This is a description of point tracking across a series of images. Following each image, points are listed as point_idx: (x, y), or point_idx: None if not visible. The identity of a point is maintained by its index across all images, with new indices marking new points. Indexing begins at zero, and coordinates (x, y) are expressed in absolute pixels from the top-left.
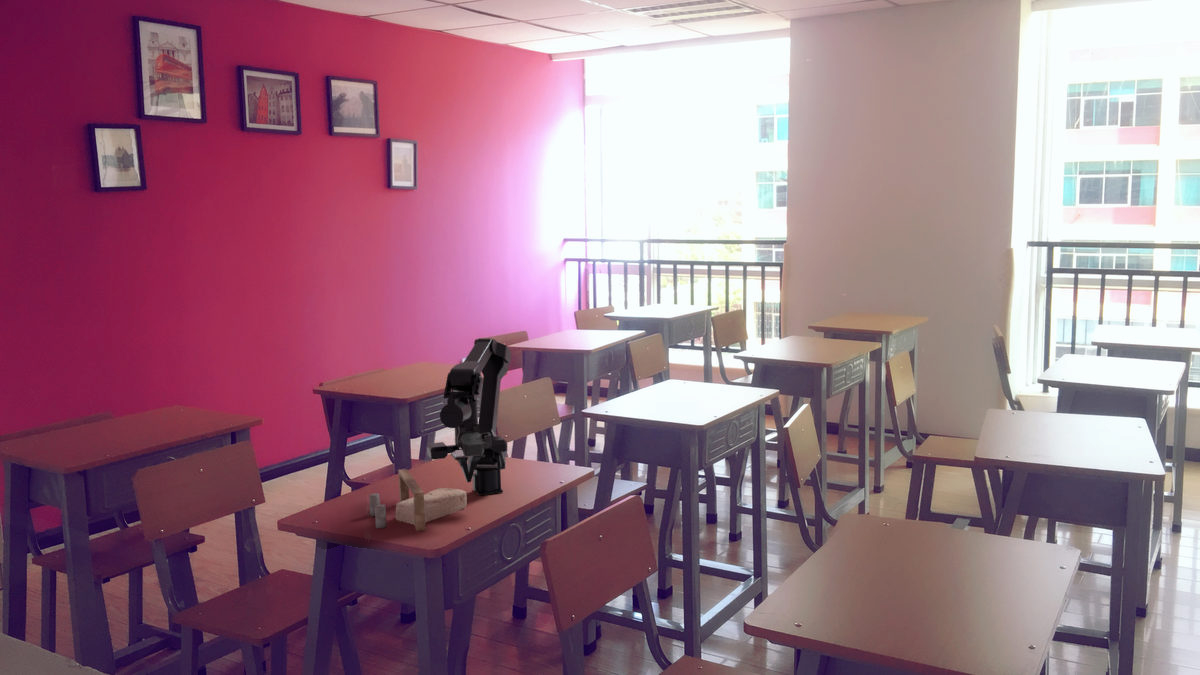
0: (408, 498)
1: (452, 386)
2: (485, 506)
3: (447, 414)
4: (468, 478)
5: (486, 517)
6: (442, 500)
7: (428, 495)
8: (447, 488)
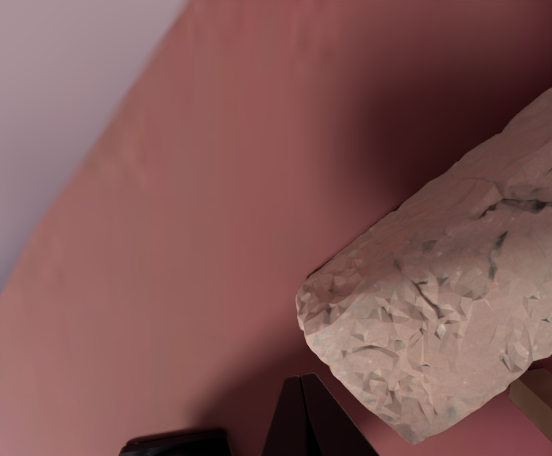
0: (543, 398)
1: None
2: (202, 289)
3: None
4: (312, 401)
5: (201, 92)
6: (482, 218)
7: (527, 337)
8: (403, 419)
